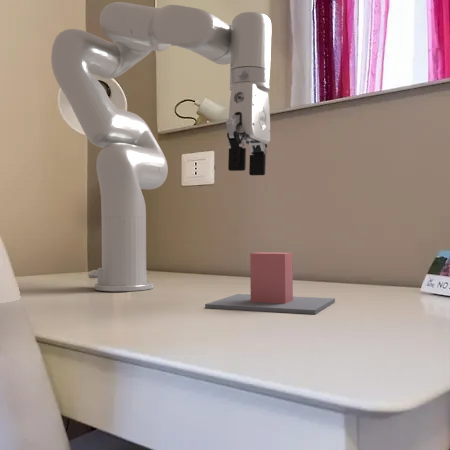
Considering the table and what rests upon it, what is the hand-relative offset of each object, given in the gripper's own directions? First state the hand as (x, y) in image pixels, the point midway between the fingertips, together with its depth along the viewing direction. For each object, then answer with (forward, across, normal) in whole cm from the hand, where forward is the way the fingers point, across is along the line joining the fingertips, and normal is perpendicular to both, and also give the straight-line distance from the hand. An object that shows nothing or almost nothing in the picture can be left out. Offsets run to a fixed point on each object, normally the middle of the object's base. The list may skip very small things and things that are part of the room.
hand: (247, 172), depth 100 cm
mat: (+23, -9, -9) cm, 26 cm away
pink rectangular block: (+22, -9, -9) cm, 26 cm away
